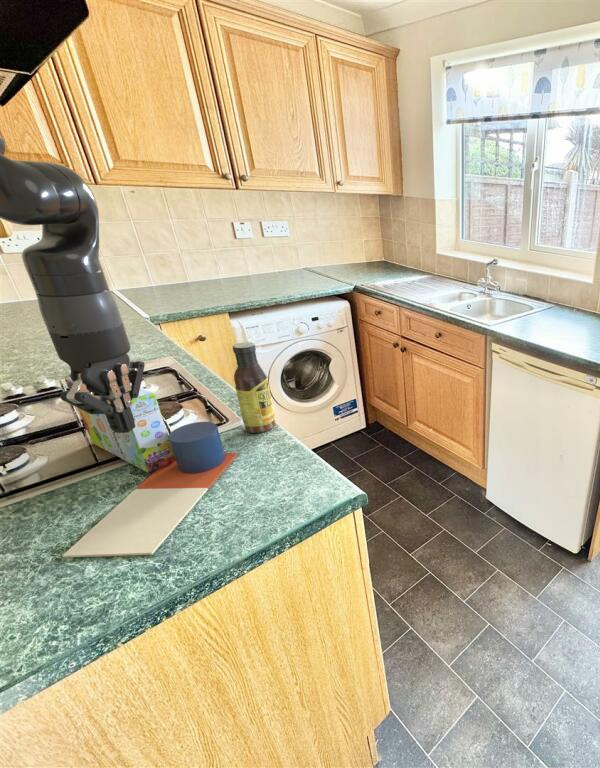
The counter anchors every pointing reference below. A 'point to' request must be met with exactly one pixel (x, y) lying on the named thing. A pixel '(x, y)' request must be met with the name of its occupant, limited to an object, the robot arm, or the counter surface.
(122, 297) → the counter surface
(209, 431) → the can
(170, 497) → the mat
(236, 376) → the sauce bottle
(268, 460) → the counter surface
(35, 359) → the counter surface
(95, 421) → the snack box
